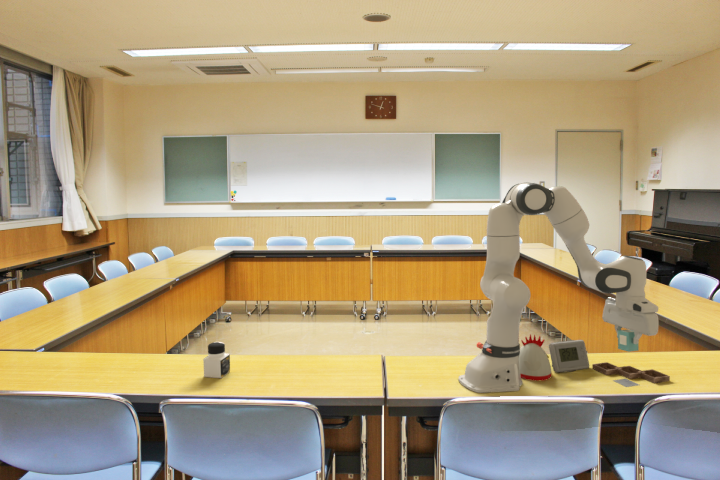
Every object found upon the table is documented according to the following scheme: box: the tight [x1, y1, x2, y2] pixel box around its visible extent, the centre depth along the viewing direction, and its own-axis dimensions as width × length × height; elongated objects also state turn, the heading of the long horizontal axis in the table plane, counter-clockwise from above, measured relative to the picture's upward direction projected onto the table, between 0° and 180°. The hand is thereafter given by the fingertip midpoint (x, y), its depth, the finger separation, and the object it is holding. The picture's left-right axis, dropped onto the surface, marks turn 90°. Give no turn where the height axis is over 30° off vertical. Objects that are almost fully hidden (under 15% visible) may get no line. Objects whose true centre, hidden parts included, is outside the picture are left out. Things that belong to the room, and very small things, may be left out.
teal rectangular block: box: [617, 329, 640, 353], centre depth 164 cm, size 4×4×7 cm
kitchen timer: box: [519, 333, 552, 382], centre depth 175 cm, size 14×14×15 cm
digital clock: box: [548, 339, 590, 373], centre depth 179 cm, size 16×9×11 cm, turn 95°
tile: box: [612, 378, 640, 388], centre depth 165 cm, size 6×6×1 cm
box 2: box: [615, 365, 645, 380], centre depth 173 cm, size 7×7×2 cm
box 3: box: [638, 368, 671, 384], centre depth 169 cm, size 7×7×2 cm
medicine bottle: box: [202, 341, 231, 379], centre depth 175 cm, size 7×7×12 cm
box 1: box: [591, 361, 622, 376], centre depth 176 cm, size 7×7×2 cm
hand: (627, 340), depth 164 cm, fingers closed on teal rectangular block, 5 cm apart
